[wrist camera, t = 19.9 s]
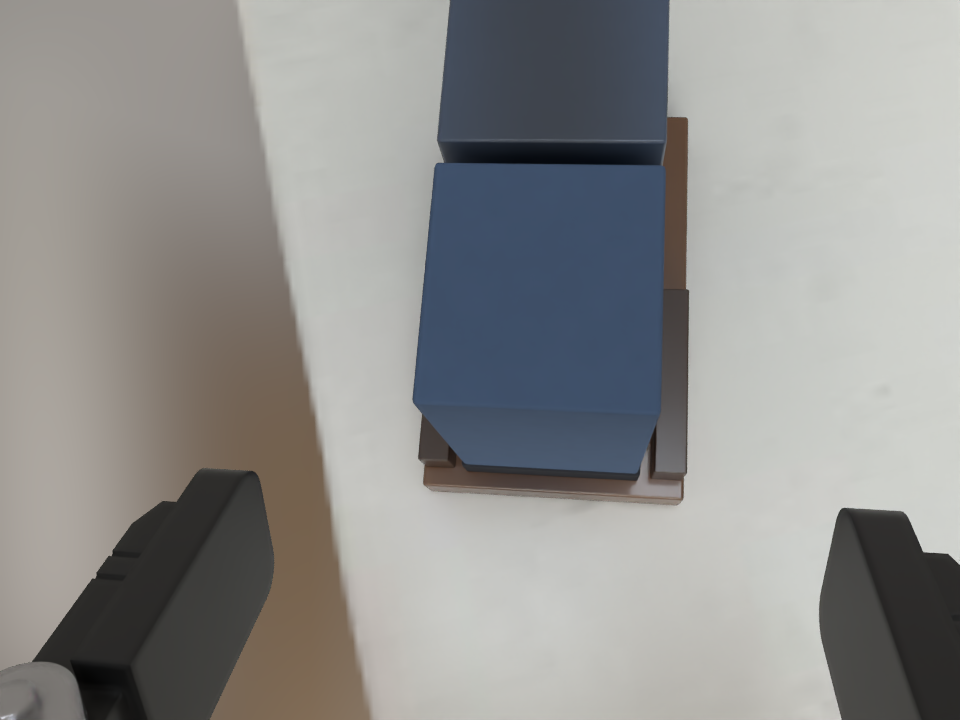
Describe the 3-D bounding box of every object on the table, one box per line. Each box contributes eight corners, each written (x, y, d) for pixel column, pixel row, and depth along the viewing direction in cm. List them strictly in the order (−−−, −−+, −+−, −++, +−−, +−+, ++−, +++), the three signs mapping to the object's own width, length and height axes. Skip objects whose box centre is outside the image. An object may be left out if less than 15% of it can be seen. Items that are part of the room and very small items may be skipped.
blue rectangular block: (642, 301, 24) (669, 161, 17) (638, 481, 23) (664, 418, 15) (479, 296, 25) (432, 158, 17) (466, 471, 24) (407, 406, 16)
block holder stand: (684, 137, 27) (732, -94, 18) (679, 505, 24) (733, 446, 15) (460, 136, 28) (401, -85, 19) (430, 491, 25) (343, 426, 16)
